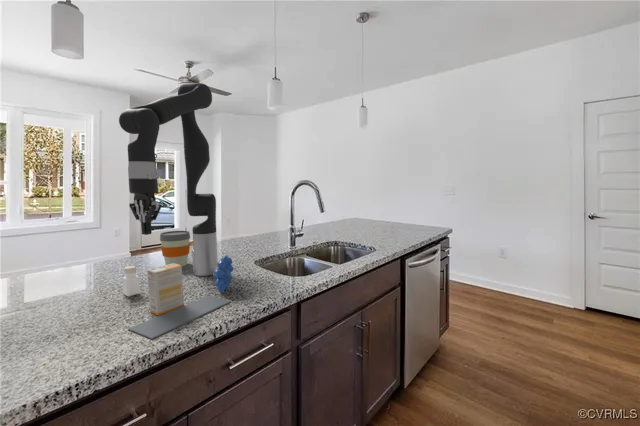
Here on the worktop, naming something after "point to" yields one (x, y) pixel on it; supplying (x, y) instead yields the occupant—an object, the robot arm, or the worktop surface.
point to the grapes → (223, 273)
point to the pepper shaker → (131, 281)
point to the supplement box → (165, 288)
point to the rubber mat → (178, 317)
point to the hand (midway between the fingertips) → (146, 234)
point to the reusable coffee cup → (175, 247)
